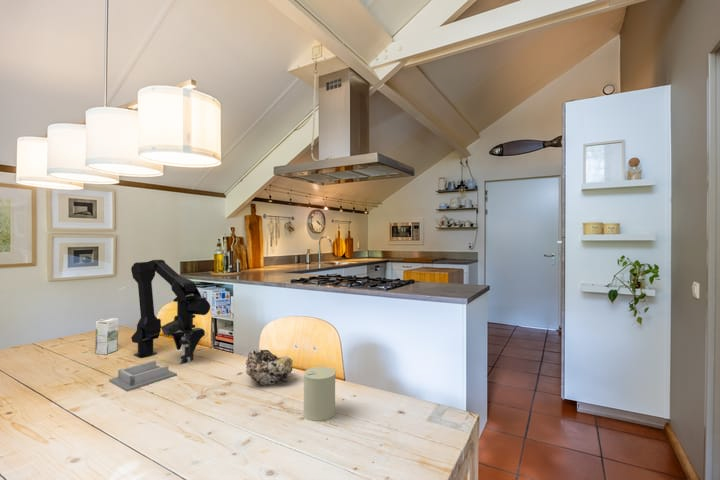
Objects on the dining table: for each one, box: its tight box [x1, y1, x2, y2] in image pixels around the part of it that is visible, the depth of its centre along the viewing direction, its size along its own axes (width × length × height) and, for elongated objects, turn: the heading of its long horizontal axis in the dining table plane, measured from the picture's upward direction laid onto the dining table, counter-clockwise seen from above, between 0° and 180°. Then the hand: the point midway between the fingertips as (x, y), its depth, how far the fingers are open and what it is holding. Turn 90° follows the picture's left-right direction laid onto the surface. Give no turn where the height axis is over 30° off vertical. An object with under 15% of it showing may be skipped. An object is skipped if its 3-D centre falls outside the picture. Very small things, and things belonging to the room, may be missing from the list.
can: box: [302, 366, 337, 422], centre depth 97 cm, size 9×9×12 cm
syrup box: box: [94, 317, 120, 355], centre depth 147 cm, size 6×6×14 cm
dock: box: [108, 359, 178, 392], centre depth 120 cm, size 14×16×4 cm
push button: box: [177, 335, 194, 364], centre depth 136 cm, size 7×5×10 cm
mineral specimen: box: [245, 348, 294, 386], centre depth 118 cm, size 16×18×10 cm
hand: (184, 351), depth 136 cm, fingers open, 9 cm apart
